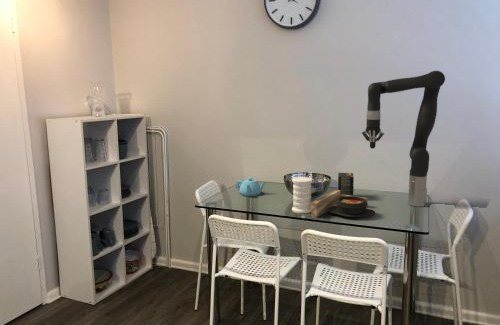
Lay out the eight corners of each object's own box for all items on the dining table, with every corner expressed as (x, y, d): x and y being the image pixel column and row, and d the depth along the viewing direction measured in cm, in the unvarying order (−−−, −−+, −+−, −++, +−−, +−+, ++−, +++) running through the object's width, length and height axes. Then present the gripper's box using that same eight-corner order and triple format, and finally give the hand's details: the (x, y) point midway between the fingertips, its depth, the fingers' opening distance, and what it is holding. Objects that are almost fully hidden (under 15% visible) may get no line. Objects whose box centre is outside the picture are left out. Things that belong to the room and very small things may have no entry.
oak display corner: (367, 206, 236) (367, 193, 235) (343, 223, 211) (343, 208, 209) (337, 201, 247) (337, 188, 246) (311, 216, 222) (311, 202, 220)
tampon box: (353, 200, 249) (354, 176, 246) (337, 199, 251) (338, 176, 248) (352, 195, 259) (353, 172, 257) (337, 194, 261) (338, 172, 258)
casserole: (377, 211, 227) (377, 196, 226) (373, 222, 211) (373, 206, 209) (331, 207, 237) (331, 193, 235) (324, 217, 220) (324, 202, 219)
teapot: (252, 189, 279) (252, 174, 277) (267, 194, 268) (266, 177, 265) (234, 193, 270) (233, 177, 268) (248, 198, 259) (247, 181, 256)
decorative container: (308, 206, 240) (308, 176, 236) (315, 212, 228) (315, 180, 225) (289, 208, 237) (289, 177, 234) (295, 214, 226) (295, 182, 222)
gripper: (387, 118, 235) (386, 148, 238) (364, 117, 243) (363, 146, 246) (382, 119, 229) (381, 150, 233) (359, 118, 237) (359, 148, 240)
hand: (372, 148), depth 239 cm, fingers closed
